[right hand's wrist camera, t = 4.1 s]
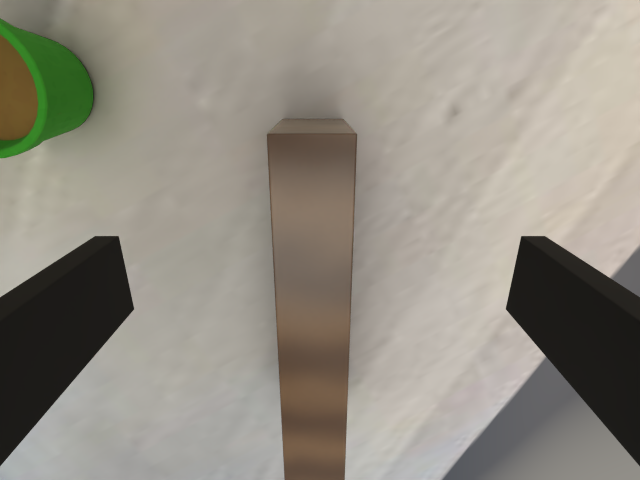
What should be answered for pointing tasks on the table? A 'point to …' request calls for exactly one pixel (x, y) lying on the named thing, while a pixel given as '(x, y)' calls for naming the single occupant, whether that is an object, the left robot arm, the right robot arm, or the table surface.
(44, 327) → the right robot arm
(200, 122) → the table surface
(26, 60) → the potted flower
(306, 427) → the bar
